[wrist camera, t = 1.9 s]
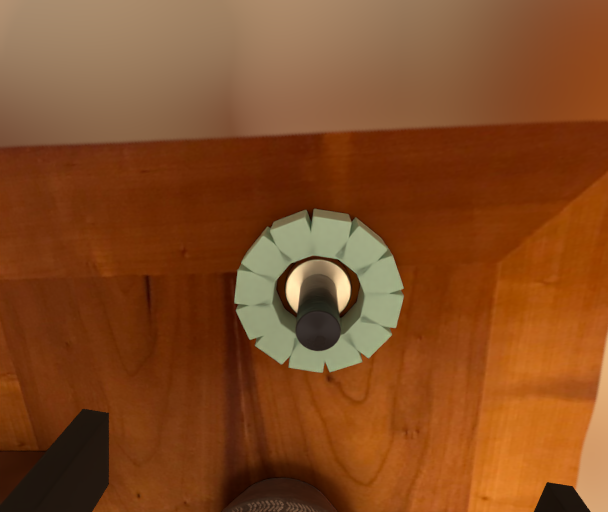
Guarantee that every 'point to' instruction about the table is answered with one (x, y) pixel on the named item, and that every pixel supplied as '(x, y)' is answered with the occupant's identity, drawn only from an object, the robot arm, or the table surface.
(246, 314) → the ring
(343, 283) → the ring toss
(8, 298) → the table surface
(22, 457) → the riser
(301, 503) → the planter
